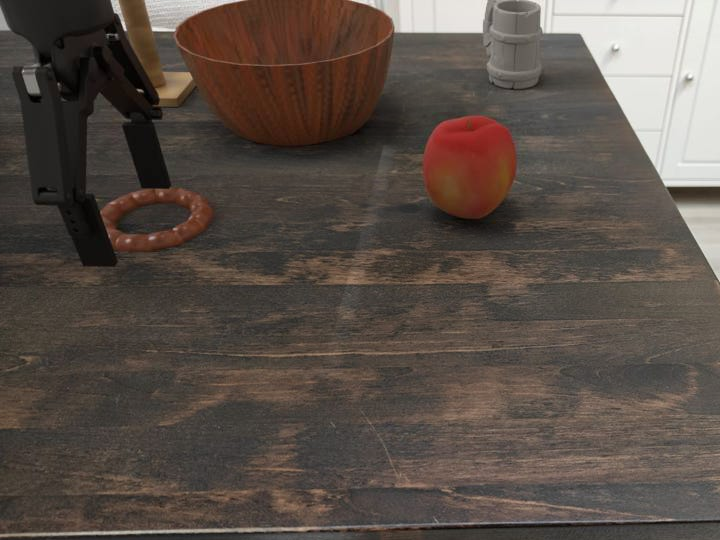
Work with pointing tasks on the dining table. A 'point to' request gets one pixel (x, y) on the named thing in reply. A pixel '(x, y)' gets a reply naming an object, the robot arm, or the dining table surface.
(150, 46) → the post
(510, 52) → the mug
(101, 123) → the dining table surface
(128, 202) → the ring
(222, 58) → the bowl
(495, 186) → the apple
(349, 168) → the dining table surface
